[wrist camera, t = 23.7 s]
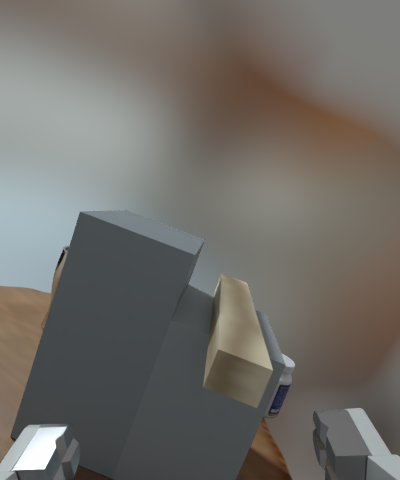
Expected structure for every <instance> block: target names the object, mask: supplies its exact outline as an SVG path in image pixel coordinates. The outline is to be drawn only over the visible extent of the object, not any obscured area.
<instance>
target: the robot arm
mask: <svg viewBox="0 0 400 480" xmlns="http://www.w3.org/2000/svg"><path fill="white" fill-rule="evenodd" d="M313 421H314V424H315V427H316V428H315V430H314V431H313V442H314V448H315V452H316V456H317V459H318V462H319V465H320V466H321V467H322V468H323V469H324V470H325V480H400V457H399V456H398V455H392V454H391V453H390V451H389V450H388V448H387V446H386V445H385V443H384V442H383V440H382V439H381V437H380V435H379V434H378V432H377V431H376V429H375V427H374V426H373V424H372V423H371V421H370V420H369V418H368V416H367V415H366V413H365V411H364V410H362V409H361V408H355V409H345V410H344V409H338V410H322V411H314V414H313ZM75 433H76V431H75V427H74V424H43V425H28V426H27V427H26V428H24V430H23V431H22V433H21V434H20V436H19V437H18V438H17V440H16V441H15V443H14V444H13V446H12V447H11V449H10V450H9V452H8V453H7V454H6V456H5V457H4V459H3V460H2V462H1V463H0V480H71V479H72V478H73V477H74V475H75V473H76V470H77V468H78V464H79V459H80V447H79V443H78V442H77V441H76V440H75V439H74V438H73V437H74V435H75Z"/></svg>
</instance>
